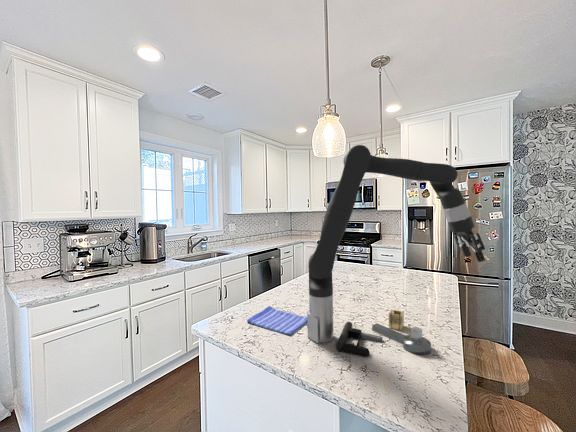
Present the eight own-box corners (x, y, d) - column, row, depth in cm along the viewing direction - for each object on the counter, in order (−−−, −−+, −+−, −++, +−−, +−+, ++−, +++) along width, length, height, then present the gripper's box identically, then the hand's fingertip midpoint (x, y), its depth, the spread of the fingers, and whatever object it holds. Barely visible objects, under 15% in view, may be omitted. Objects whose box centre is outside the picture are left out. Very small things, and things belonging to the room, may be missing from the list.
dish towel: (269, 310, 132) (268, 305, 132) (311, 321, 119) (311, 315, 119) (245, 323, 118) (245, 317, 118) (290, 337, 105) (290, 330, 105)
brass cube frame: (402, 330, 108) (402, 316, 108) (389, 327, 110) (389, 313, 110) (403, 325, 112) (403, 311, 112) (391, 323, 115) (391, 309, 115)
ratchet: (422, 358, 88) (422, 337, 88) (367, 332, 107) (367, 315, 107) (436, 349, 94) (436, 329, 93) (381, 326, 112) (381, 309, 112)
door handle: (383, 328, 106) (343, 319, 112) (380, 354, 87) (332, 343, 94) (383, 336, 106) (342, 327, 112) (379, 364, 88) (331, 352, 94)
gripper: (439, 219, 105) (454, 258, 105) (458, 222, 91) (475, 266, 91) (458, 212, 104) (473, 251, 104) (480, 214, 90) (498, 259, 90)
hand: (474, 258), depth 97 cm, fingers open, 8 cm apart
